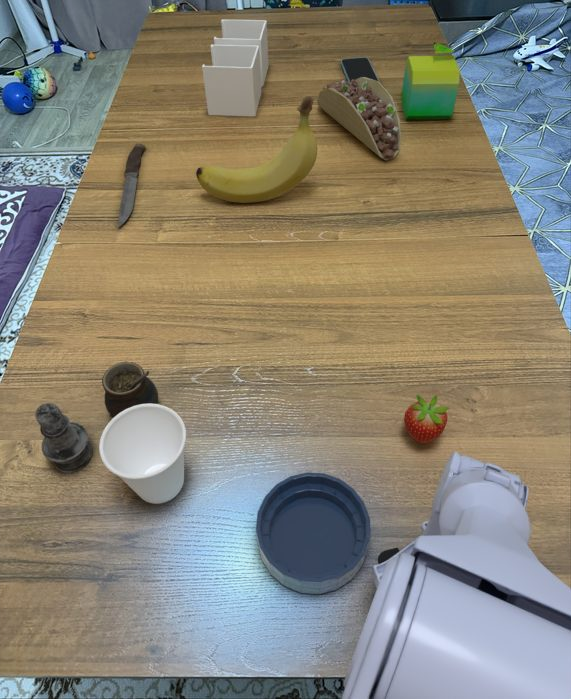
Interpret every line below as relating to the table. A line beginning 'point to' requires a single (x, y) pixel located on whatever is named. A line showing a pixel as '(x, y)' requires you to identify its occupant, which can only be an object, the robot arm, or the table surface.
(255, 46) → the storage container
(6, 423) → the table surface
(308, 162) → the banana
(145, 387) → the mate gourd
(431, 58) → the leaf-topped green cube
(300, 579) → the bowl
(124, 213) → the knife
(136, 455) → the cup
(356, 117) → the taco
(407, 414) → the fruit
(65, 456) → the chess piece
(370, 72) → the smartphone
